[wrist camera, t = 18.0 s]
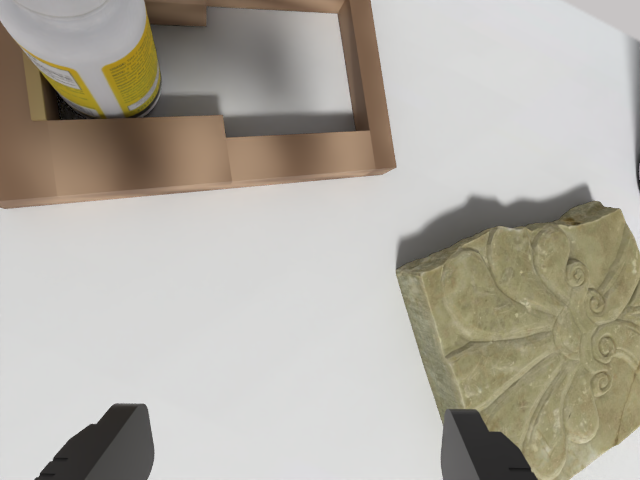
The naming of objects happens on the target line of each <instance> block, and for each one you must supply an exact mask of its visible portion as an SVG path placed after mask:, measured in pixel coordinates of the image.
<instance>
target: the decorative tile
mask: <svg viewBox="0 0 640 480" xmlns="http://www.w3.org/2000/svg"><path fill="white" fill-rule="evenodd" d="M396 276H397V279H398V283H399V286H400V289H401V293H402V296H403V299H404V303H405V306H406V309H407V313H408V316H409V319H410V322H411V326H412V329H413V332H414V335H415V339H416V342H417V345H418V349H419V352H420V355H421V358H422V362H423V365H424V368H425V371H426V374H427V377H428V380H429V383H430V386H431V389H432V392H433V395H434V398H435V401H436V405H437V408H438V411H439V414H440V417H441V420H442V423H443V426H444V415H445V411H446V409H476V410H477V411H478V412H479V413H480V415H481V417H482V419H483V421H484V423H485V425H486V426H487V428H488V430H489V431H495V432H502V433H503V434H504V435H505V436H506V437H507V438H509V439H510V440H511V441H512V442H513V443H514V444H515V445H516V446H517V447H518V448H519V449H520V450H521V452H522V454H523V455H524V457H525V459H526V460H527V462H528V464H529V465H530V467H531V471H532V472H534V474H535V476H536V477H537V479H538V480H569V479H571V478H572V477H573V476H574V475H576V474H577V473H579V472H580V471H582V470H583V469H584V468H586V467H587V466H588V465H589V464H590V463H591V462H593V461H594V460H596V459H597V458H598V457H600V456H601V455H602V454H603V453H605V452H606V451H608V450H609V449H610V448H612V447H613V446H616V445H618V444H619V443H621V442H622V441H623V440H624V439H625V438H626V437H628V436H629V435H630V434H631V433H633V432H634V431H635V430H636V429H637V428H638V427H639V426H640V252H639V250H638V247H637V244H636V241H635V238H634V236H633V234H632V232H631V231H630V229H629V227H628V226H627V224H626V222H625V219H624V216H623V214H622V211H621V209H619V208H611V207H604V206H603V205H602V204H601V202H598V201H592V202H588V203H586V204H583V205H578V206H576V207H574V208H571V209H570V210H569V211H568V212H566V213H565V214H564V215H562V216H561V217H560V219H559V220H556V221H553V222H549V223H548V222H547V223H534V224H528V225H526V226H525V227H524V226H519V227H515V228H508V227H503V226H496V227H493V228H489V229H486V230H484V231H482V232H480V233H479V234H475V235H474V236H473V237H468V238H466V239H462V240H460V241H459V242H457V243H456V244H454V245H453V246H451V247H449V248H445V249H443V250H441V251H439V252H435V253H433V254H431V255H429V256H428V257H426V258H421V259H416V260H414V261H413V262H409V263H406V264H405V265H403V266H402V267H400V268H398V269H396Z"/></svg>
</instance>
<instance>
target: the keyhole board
mask: <svg viewBox="0 0 640 480" xmlns="http://www.w3.org/2000/svg"><path fill="white" fill-rule="evenodd" d="M144 2H145V6H146V11H147V15H148V19H149V23H150V24H156V25H182V26H206V14H207V6H211V7H230V8H248V9H266V10H284V11H302V12H320V13H338V18H339V24H340V31H341V37H342V44H343V50H344V57H345V63H346V70H347V76H348V83H349V89H350V96H351V102H352V109H353V115H354V122H355V128H356V131H351V132H330V133H310V134H290V135H270V136H250V137H229V138H226V135H225V128H224V121H223V115H210V116H178V117H146V118H114V119H82V120H60V117H59V110H58V102H57V95H56V90H55V89H54V87H53V86H52V85H51V84H50V83H49V81H48V80H47V79H46V78H45V77H44V75H43V74H42V73H41V72H40V70H39V69H38V68H37V67H36V66H35V64H34V63H33V62H32V61H31V59H30V58H29V57H28V56H27V54H26V53H25V52H24V51H23V50H22V49H21V47H20V46H19V45H18V44H17V42H16V41H15V40H14V39H13V38H12V36H11V35H10V34H9V32H8V31H7V30H6V28H5V27H4V26H3V24H2V23H1V21H0V208H4V209H8V208H19V207H30V206H41V205H52V204H63V203H74V202H85V201H96V200H108V199H119V198H130V197H141V196H152V195H163V194H174V193H185V192H196V191H207V190H218V189H229V188H240V187H251V186H262V185H273V184H284V183H295V182H306V181H317V180H328V179H339V178H350V177H361V176H373V175H383V174H385V173H386V172H388V171H390V170H392V169H394V168H396V161H395V155H394V148H393V142H392V135H391V129H390V123H389V116H388V110H387V103H386V97H385V91H384V84H383V78H382V71H381V65H380V59H379V52H378V46H377V40H376V33H375V27H374V20H373V14H372V8H371V1H370V0H144Z"/></svg>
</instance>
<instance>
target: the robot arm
mask: <svg viewBox="0 0 640 480" xmlns="http://www.w3.org/2000/svg"><path fill="white" fill-rule="evenodd" d="M639 178H640V165H639ZM153 461H154V444H153V438H152V432H151V426H150V420H149V414H148V409H147V406H146V405H145V404H119V403H117V404H114V405H112V406H111V407H110V408H109V410H108V411H107V412H106V413H105V414H104V416H103V417H102V418H101V419H100V421H99V422H98V423H97V424H90V425H89V426H87V427H86V428H85V429H83V430H82V431H80V432H79V433H78V434H76V435H75V436H73V437H72V438H71V439H69V440H68V442H67V443H66V444H65V445H64V446H63V447H62V449H61V450H60V451H59V452H58V453H57V454H56V455H55V457H54V458H53V461H50V462H49V463H48V465H47V466H46V467H45V468H44V469H43V470H42V471H41V473H40V476H39V477H36V478H35V480H147V479H148V477H149V475H150V472H151V469H152V466H153ZM441 469H442V475H443V480H538V479H537V477H536V476H535V474H534V472H532V471H531V467H530V465H529V464H528V462H527V460H526V459H525V457H524V455H523V454H522V452H521V450H520V449H519V448H518V447H517V446H516V445H515V444H514V443H513V442H512V441H511V440H510V439H509V438H507V437H506V436H505V435H504V434H503V433H502V432H495V431H489V430H488V428H487V426H486V425H485V423H484V421H483V419H482V417H481V415H480V413H479V412H478V411H477V410H476V409H446V411H445V415H444V426H443V437H442V448H441Z"/></svg>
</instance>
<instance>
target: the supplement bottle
mask: <svg viewBox="0 0 640 480" xmlns="http://www.w3.org/2000/svg"><path fill="white" fill-rule="evenodd" d="M0 21H1V23H2V24H3V26H4V27H5V28H6V30H7V31H8V32H9V34H10V35H11V36H12V38H13V39H14V40H15V41H16V42H17V44H18V45H19V46H20V47H21V49H22V50H23V51H24V52H25V53H26V54H27V56H28V57H29V58H30V59H31V61H32V62H33V63H34V64H35V66H36V67H37V68H38V69H39V70H40V72H41V73H42V74H43V75H44V77H45V78H46V79H47V80H48V81H49V83H50V84H51V85H52V86H53V87H54V89H55V90H56V91H57V92H58V94H59V95H60V96H61V97H62V99H63V100H64V101H65V102H66V103H67V104H68V105H69V106H70V107H71V108H72V109H73V110H75V111H76V112H77V113H79V114H80V115H82V116H84V117H85V118H87V119H114V118H142V117H144V116H145V115H147V114H148V113H149V112H150V111H151V110H152V109H153V108H154V106H155V105H156V103H157V101H158V99H159V97H160V93H161V86H162V81H161V73H160V68H159V63H158V58H157V54H156V49H155V44H154V40H153V36H152V32H151V28H150V23H149V19H148V15H147V11H146V6H145V2H144V0H0Z"/></svg>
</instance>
